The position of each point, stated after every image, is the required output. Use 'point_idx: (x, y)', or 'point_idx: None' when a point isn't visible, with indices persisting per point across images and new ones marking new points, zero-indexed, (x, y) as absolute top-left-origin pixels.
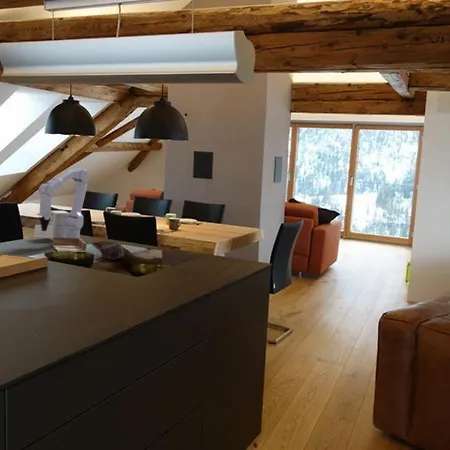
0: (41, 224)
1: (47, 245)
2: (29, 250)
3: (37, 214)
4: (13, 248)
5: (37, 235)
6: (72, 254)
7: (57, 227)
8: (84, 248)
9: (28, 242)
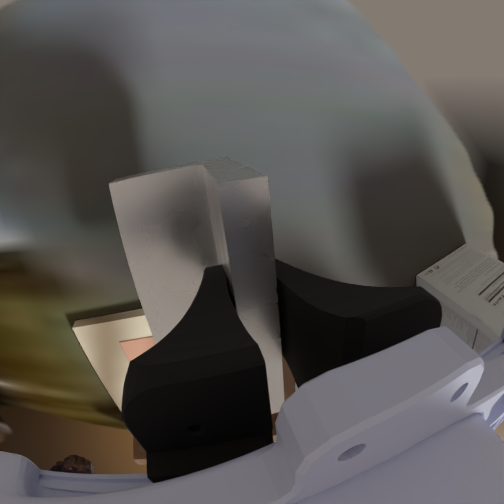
0: (203, 306)
1: (292, 248)
2: (67, 129)
3: (326, 409)
4: (123, 12)
5: (113, 199)
6: (63, 382)
7: (466, 327)
8: (134, 439)
9: (373, 122)
